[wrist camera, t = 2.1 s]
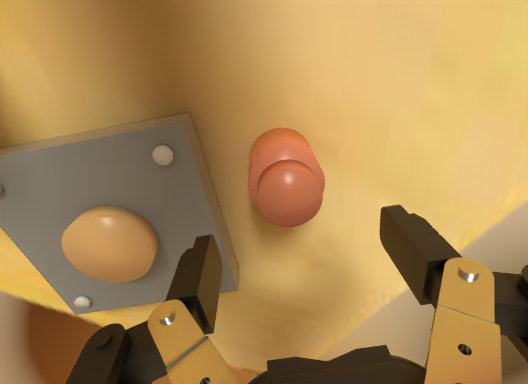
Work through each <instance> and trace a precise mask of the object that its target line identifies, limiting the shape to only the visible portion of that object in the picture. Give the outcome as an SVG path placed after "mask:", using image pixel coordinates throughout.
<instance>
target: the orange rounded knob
mask: <svg viewBox="0 0 528 384" xmlns="http://www.w3.org/2000/svg"><path fill="white" fill-rule="evenodd" d="M324 186H325V179H324V174H323V171H322V169H321V167H320V165H319V163H318V161H317V160H316V158H315V156H314V154H313V152H312V150H311V148H310V146H309V144H308V142H307V141H306V139H305V138H304V137H303V136H302V135H301V134H299V133H298V132H296V131H294V130H291V129H287V128H276V129H272V130H269V131H267V132H265V133H263V134H262V135H261V136H260V137H258V138H257V140H256V141H255V142H254V144H253V146H252V148H251V151H250V158H249V193H250V196H251V199H252V201H253V202H254V204H255V205H256V206H257V207H258V208H259V211H260V213H261V214H262V216H263V217H264V218H265V219H266V220H267V221H269V222H270V223H272V224H274V225H277V226H282V227H294V226H298V225H301V224H304V223H306V222H307V221H309V220H310V219H312V218H313V217H314V216H315V215H316V214H317V212H318V211H319V209H320V207H321V204H322V194H323V191H324Z"/></svg>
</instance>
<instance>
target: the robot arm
mask: <svg viewBox="0 0 528 384" xmlns="http://www.w3.org/2000/svg"><path fill="white" fill-rule="evenodd" d="M380 239H381V243H382V245H383V247H384V249H385V250H386V252H387V253H388V255H389V256H390V258H391V260H392V261H393V263H394V264H395V266H396V267H397V269H398V270H399V272H400V274H401V275H402V277H403V278H404V280H405V281H406V283H407V285H408V286H409V288H410V289H411V291H412V292H413V294H414V295H415V297H416V299H417V300H418V301H419V303H420V305H425V304H432V305H433V307H434V308H435V312H434V317H433V323H432V328H431V334H430V339H429V345H428V350H427V355H426V360H425V365H424V367H422V366H421V365H419V364H417V363H415V362H413V361H410V360H408V359H405V358H402V357H398V356H393V355H390V353H389V350H388V348H387V346H386V345H382V346H375V347H368V348H360V349H355V350H353V351H351V352H348V353H346V354H344V355H341V356H339V357H337V358H335V359H332V360H330V361H321V360H314V359H307V358H300V357H292V358H284V359H276V360H269V361H267V370H268V371H266V372H263V373H262V374H260V375H258V376H257V377H255V378H254V379H253V380H252V381H250V383H248V384H502V383H501V343H500V335H506V336H507V337H508V338H509V339H510V341H511V342H512V343H513V344H514V346H515V347H516V348H517V349H518V350H519V352H520V353H521V354H522V356H523V357H524V358H525V359H526V361H527V362H528V265H526V266H525V267H524V268H523V269H522V271H521V274H510V273H499V272H491V271H490V270H489V269H488V268H487V267H486V266H485V265H483V264H482V263H480V262H478V261H475V260H472V259H468V258H463V257H462V256H461V255H460V254H459V253H458V252H457V251H456V250H455V249H454V248H453V247H452V246H451V245H450V244H449V243H448V242H447V241H446V240H445V239H444V238H443V237H442V236H441V235H439V233H438V232H437V231H436V230H435V229H434V228H433V227H432V226H431V225H430V224H429V223H428V222H427V221H426V220H425V219H424V218H422V217H420V216H418V215H416V214H414V213H413V214H408V213H407V211H406V210H405V209H404V208H403V207H402V206H401V205H393V206H387V207H382V208H381V216H380ZM221 277H222V259H221V256H220V253H219V250H218V247H217V244H216V241H215V238H214V236H213V234H210V235H204V236H198V237H196V239H195V243H194V246H193V248H189V249H187V250H186V251H185V252H184V253H183V254H182V256H181V257H180V259H179V262H178V265H177V268H176V271H175V275H174V277H173V279H172V282H171V285H170V288H169V291H168V294H167V297H166V300H165V302H164V303H162V304H160V305H159V306H157V307H156V308H155V309H154V310H153V312H152V313H151V314H150V316H149V319H148V320H147V321H145V322H143V323H141V324H138V325H136V326H134V327H131V328H129V329H127V330H125V328H124V327H123V326H122V325H121V324H116V323H115V324H110V325H107V326H105V327H103V328H101V329H100V330H98V331H97V332H96V333H95V334H93V335H92V336H91V338H90V339H89V340H88V341H87V343H86V345H85V346H84V348H83V350H82V352H81V354H80V356H79V358H78V360H77V362H76V364H75V366H74V368H73V370H72V372H71V374H70V376H69V378H68V380H67V382H66V384H152V382H153V381H155V380H157V379H159V378H161V377H163V376H165V375H167V374H168V376H169V379H170V380H171V383H172V384H240V383H239V381H238V380H237V378H236V377H235V375H234V374H233V372H232V371H231V369H230V368H229V366H228V365H227V364H226V362H225V361H224V359H223V358H222V356H221V355H220V353H219V352H218V350H217V349H216V347H215V346H214V345H213V343H212V342H211V340H210V339H209V338H208V336H205V334H211V333H214V326H215V319H216V312H217V305H218V298H219V291H220V284H221Z"/></svg>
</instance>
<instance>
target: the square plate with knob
mask: <svg viewBox="0 0 528 384" xmlns="http://www.w3.org/2000/svg"><path fill="white" fill-rule="evenodd" d="M0 227H1V228H2V229H3V230H4V232H5V233H6V234H7V235H8V236H9V237H10V238H11V240H12V241H13V242H14V243H15V244H16V245H17V247H18V248H19V249H20V250H21V251H22V252H23V254H24V255H25V256H26V257H27V258H28V259H29V261H30V262H31V263H32V264H33V265H34V266H35V268H36V269H37V270H38V271H39V272H40V273H41V275H42V276H43V277H44V278H45V279H46V280H47V282H48V283H49V284H50V285H51V286H52V287H53V289H54V290H55V291H56V292H57V293H58V294H59V296H60V297H61V298H62V299H63V300H64V301H65V303H66V304H67V305H68V306H69V307H70V308H71V310H72V311H73V312H74V313H75V314H76V315H78V314H85V313H91V312H98V311H104V310H111V309H117V308H124V307H131V306H137V305H144V304H150V303H157V302H164V301H165V300H166V297H167V294H168V291H169V288H170V285H171V282H172V279H173V277H174V275H175V271H176V268H177V265H178V262H179V259H180V257H181V256H182V254H183V253H184V252H185V251H186V250H187V249H189V248H193V246H194V243H195V239H196V237H198V236H204V235H210V234H213V236H214V238H215V241H216V244H217V247H218V250H219V253H220V256H221V259H222V277H221V284H220V291H219V293H223V292H229V291H236V290H238V281H239V266H238V263H237V260H236V257H235V254H234V250H233V247H232V244H231V241H230V238H229V235H228V231H227V228H226V225H225V222H224V219H223V215H222V212H221V209H220V206H219V203H218V199H217V196H216V193H215V190H214V187H213V183H212V180H211V177H210V174H209V171H208V168H207V164H206V161H205V158H204V155H203V152H202V148H201V145H200V142H199V139H198V136H197V132H196V129H195V126H194V123H193V120H192V116H191V113H190V112H188V113H183V114H177V115H172V116H167V117H162V118H156V119H151V120H146V121H141V122H136V123H130V124H125V125H120V126H115V127H109V128H104V129H99V130H94V131H89V132H83V133H78V134H73V135H68V136H62V137H57V138H52V139H47V140H41V141H36V142H31V143H26V144H21V145H15V146H10V147H5V148H0Z"/></svg>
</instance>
